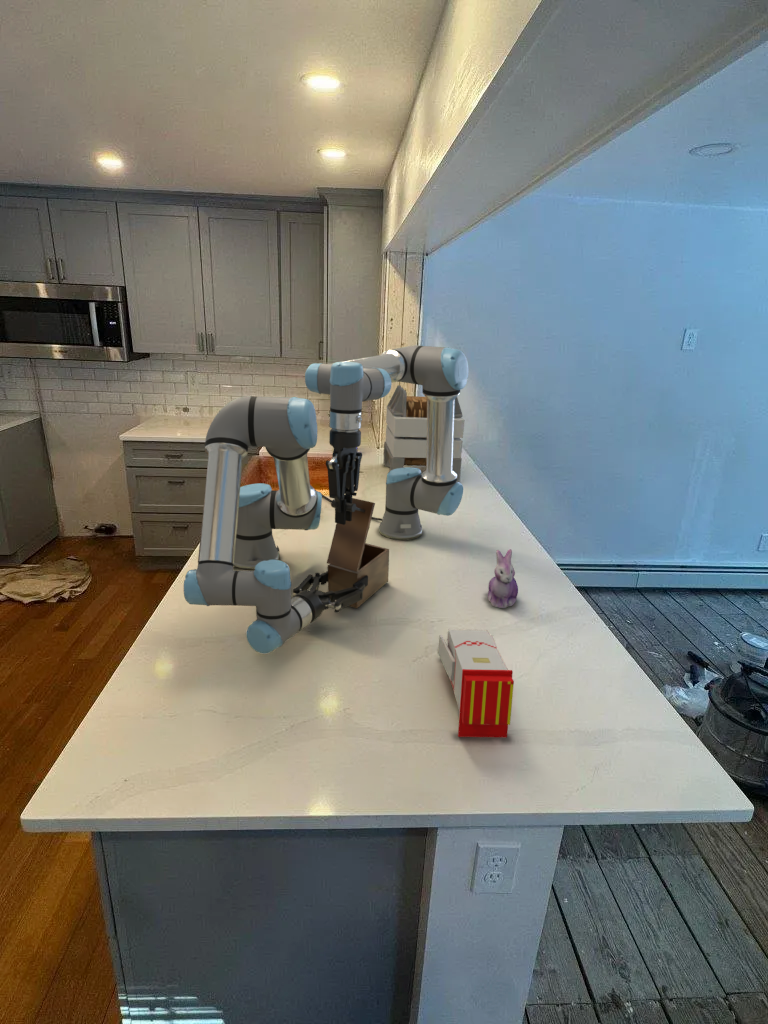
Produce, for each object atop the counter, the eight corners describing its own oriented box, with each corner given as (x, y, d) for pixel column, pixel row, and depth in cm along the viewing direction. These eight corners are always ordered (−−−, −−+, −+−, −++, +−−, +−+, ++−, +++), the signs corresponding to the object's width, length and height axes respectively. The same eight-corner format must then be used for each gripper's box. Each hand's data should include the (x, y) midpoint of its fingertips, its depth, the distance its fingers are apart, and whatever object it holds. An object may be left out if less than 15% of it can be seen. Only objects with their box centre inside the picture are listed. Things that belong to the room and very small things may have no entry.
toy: (488, 613, 130) (523, 677, 101) (484, 667, 133) (517, 744, 104) (435, 612, 130) (455, 676, 101) (432, 666, 133) (451, 743, 103)
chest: (361, 573, 168) (361, 541, 164) (388, 581, 164) (389, 549, 160) (328, 599, 153) (327, 565, 150) (357, 608, 149) (357, 573, 146)
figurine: (500, 612, 150) (506, 561, 145) (477, 595, 159) (482, 546, 153) (527, 605, 154) (535, 555, 149) (504, 589, 163) (510, 541, 158)
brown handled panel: (345, 496, 151) (328, 491, 143) (375, 503, 146) (360, 497, 139) (328, 563, 150) (311, 561, 142) (358, 571, 146) (342, 570, 138)
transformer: (382, 463, 289) (386, 382, 275) (445, 464, 293) (451, 384, 279) (390, 482, 257) (394, 392, 243) (460, 483, 261) (468, 394, 247)
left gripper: (264, 612, 140) (317, 578, 158) (339, 638, 130) (386, 598, 149) (263, 584, 137) (317, 553, 156) (340, 609, 128) (387, 572, 146)
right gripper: (341, 436, 127) (339, 534, 135) (374, 426, 140) (371, 516, 148) (313, 432, 130) (313, 527, 138) (348, 422, 143) (346, 510, 151)
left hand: (350, 575), depth 152 cm, fingers closed on chest, 9 cm apart
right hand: (343, 521), depth 143 cm, fingers closed on brown handled panel, 2 cm apart
